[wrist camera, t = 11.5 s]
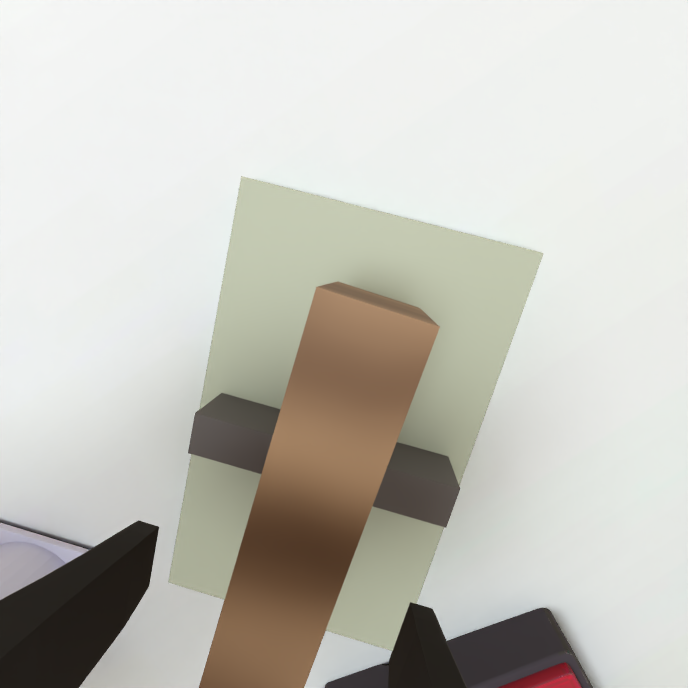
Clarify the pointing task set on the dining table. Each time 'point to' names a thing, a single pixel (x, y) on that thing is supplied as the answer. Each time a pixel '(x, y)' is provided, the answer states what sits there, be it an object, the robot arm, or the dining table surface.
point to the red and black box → (502, 657)
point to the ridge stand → (276, 366)
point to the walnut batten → (318, 483)
